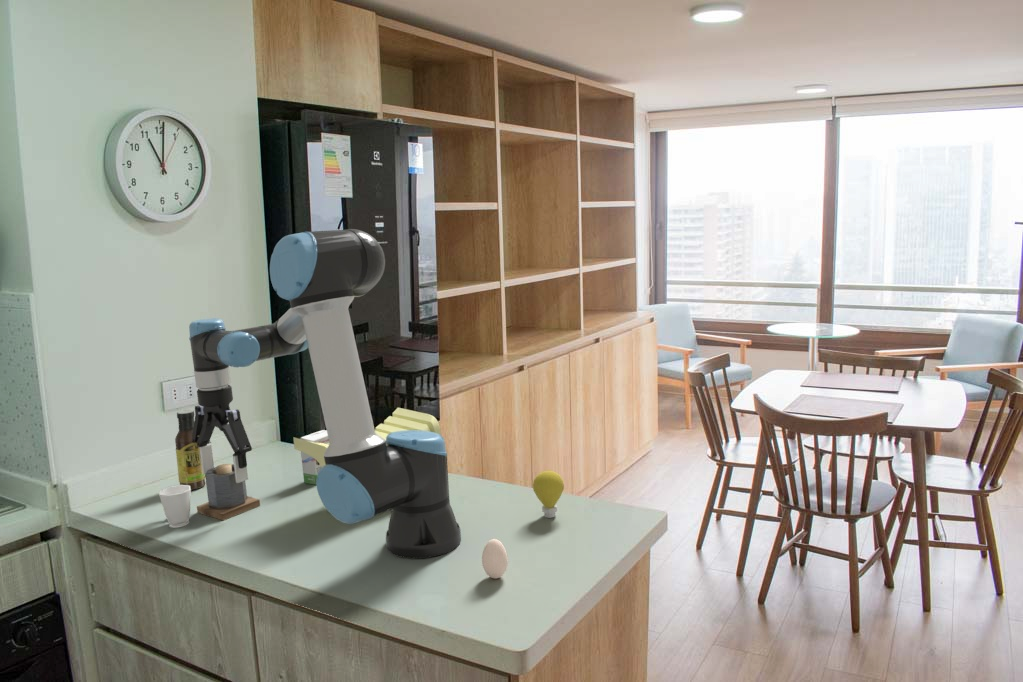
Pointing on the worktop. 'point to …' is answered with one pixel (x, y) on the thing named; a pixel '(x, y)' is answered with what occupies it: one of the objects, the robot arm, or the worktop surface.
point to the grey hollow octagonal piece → (224, 490)
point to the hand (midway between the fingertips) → (225, 476)
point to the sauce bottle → (188, 452)
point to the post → (227, 513)
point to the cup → (176, 504)
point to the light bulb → (548, 491)
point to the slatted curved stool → (379, 431)
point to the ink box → (308, 462)
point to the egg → (494, 559)
